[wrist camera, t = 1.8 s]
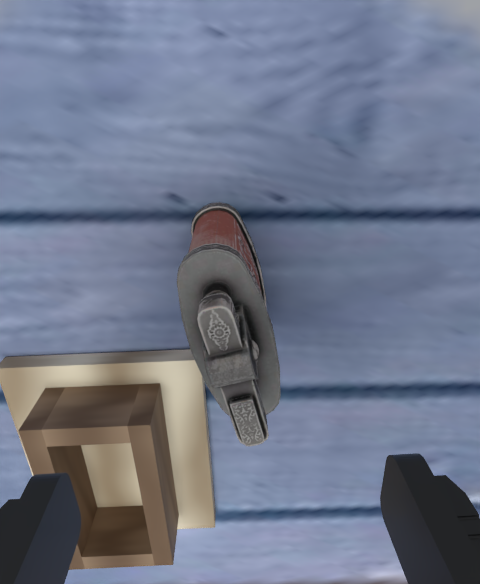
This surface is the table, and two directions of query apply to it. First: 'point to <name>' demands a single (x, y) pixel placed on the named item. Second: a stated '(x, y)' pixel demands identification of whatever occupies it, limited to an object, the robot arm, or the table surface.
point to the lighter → (230, 320)
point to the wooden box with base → (119, 446)
